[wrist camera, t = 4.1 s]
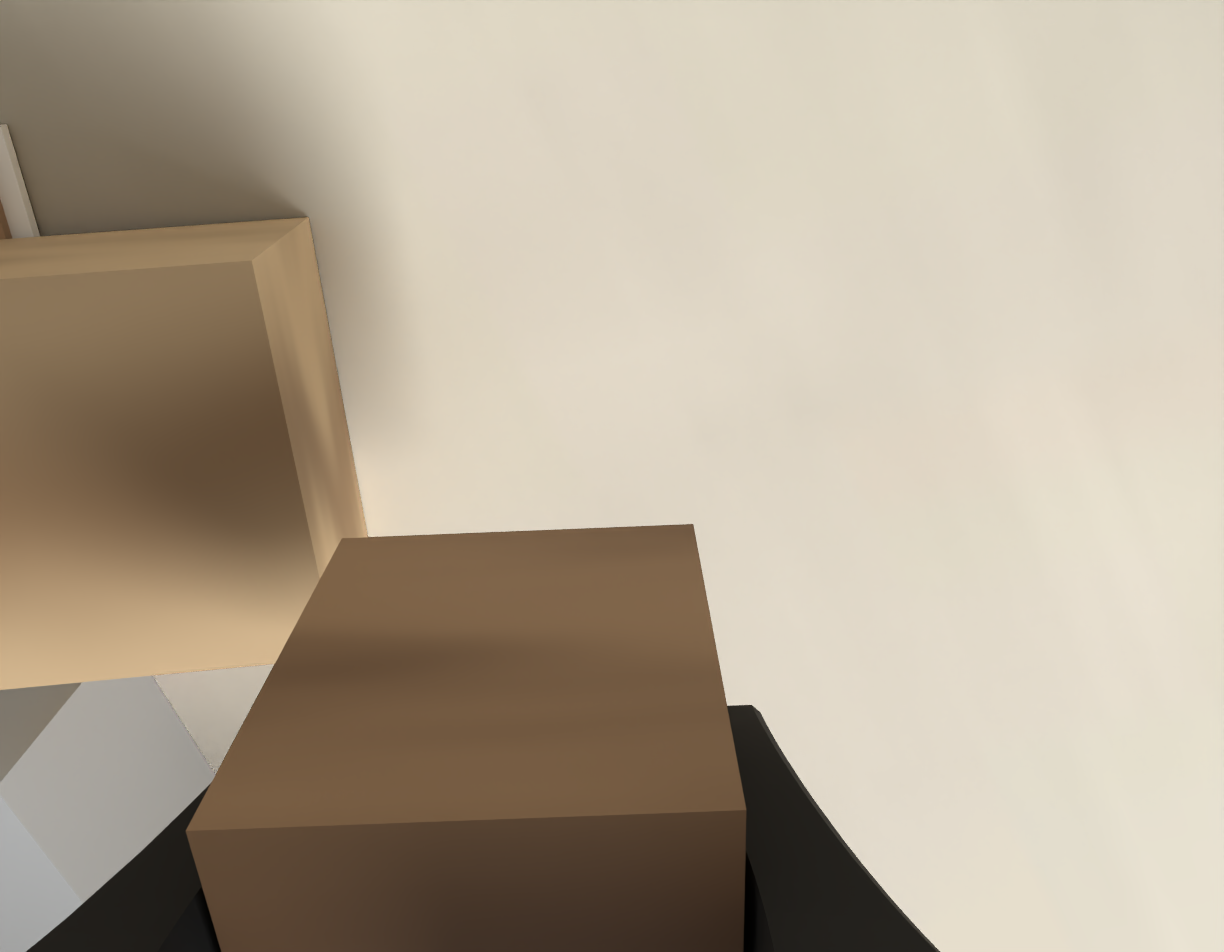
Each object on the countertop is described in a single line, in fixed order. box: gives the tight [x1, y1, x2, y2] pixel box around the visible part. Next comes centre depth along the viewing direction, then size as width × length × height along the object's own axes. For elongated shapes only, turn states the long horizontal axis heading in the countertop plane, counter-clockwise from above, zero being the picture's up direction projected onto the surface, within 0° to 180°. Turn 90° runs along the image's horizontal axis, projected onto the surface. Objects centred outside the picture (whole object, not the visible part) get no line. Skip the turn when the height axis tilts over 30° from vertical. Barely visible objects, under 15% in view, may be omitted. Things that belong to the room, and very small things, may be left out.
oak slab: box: [0, 217, 368, 690], centre depth 17 cm, size 7×7×4 cm
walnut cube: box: [186, 524, 746, 952], centre depth 11 cm, size 4×4×5 cm
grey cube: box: [0, 676, 216, 952], centre depth 20 cm, size 4×4×5 cm
